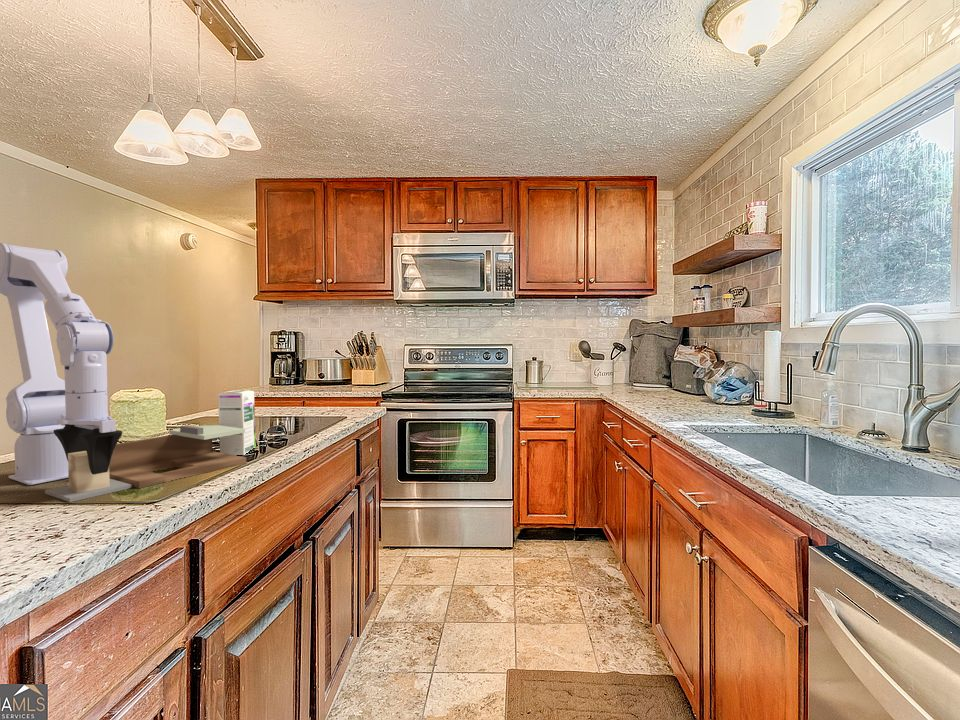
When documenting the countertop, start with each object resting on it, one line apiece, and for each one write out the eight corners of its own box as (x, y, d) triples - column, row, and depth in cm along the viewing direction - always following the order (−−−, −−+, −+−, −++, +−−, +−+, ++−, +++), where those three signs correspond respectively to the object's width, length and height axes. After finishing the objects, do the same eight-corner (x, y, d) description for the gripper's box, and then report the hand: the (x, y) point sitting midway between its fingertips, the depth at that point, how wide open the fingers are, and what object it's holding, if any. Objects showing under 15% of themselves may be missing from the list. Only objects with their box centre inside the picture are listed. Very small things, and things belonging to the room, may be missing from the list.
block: (68, 487, 85) (67, 453, 85) (100, 482, 89) (99, 448, 88) (77, 492, 82) (76, 457, 82) (109, 486, 86) (108, 452, 86)
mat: (44, 493, 84) (44, 490, 84) (105, 480, 92) (105, 477, 92) (69, 502, 79) (69, 498, 79) (131, 487, 87) (131, 484, 87)
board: (102, 478, 93) (101, 446, 93) (209, 455, 112) (208, 429, 111) (139, 488, 87) (138, 454, 87) (246, 463, 105) (245, 434, 105)
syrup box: (244, 456, 112) (243, 392, 111) (218, 455, 112) (217, 392, 111) (256, 450, 117) (255, 389, 117) (231, 450, 117) (230, 389, 117)
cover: (169, 434, 104) (169, 424, 104) (210, 427, 112) (210, 418, 111) (204, 439, 98) (204, 429, 98) (245, 432, 106) (244, 423, 106)
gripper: (38, 391, 85) (40, 469, 85) (79, 396, 78) (81, 481, 78) (87, 388, 91) (88, 461, 91) (128, 392, 84) (130, 471, 84)
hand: (88, 470), depth 85 cm, fingers open, 7 cm apart
